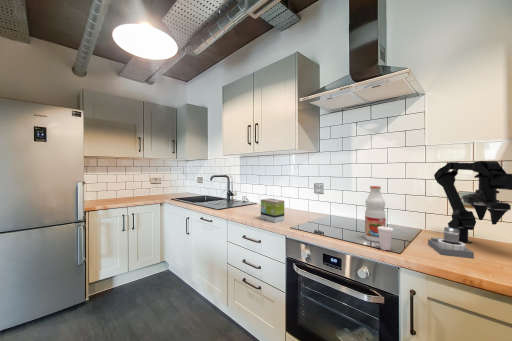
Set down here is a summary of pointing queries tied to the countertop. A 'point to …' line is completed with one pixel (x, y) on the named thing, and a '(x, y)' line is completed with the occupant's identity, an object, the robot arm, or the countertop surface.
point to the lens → (451, 235)
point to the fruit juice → (374, 214)
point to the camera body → (450, 248)
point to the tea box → (272, 210)
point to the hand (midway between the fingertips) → (487, 222)
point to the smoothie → (385, 236)
